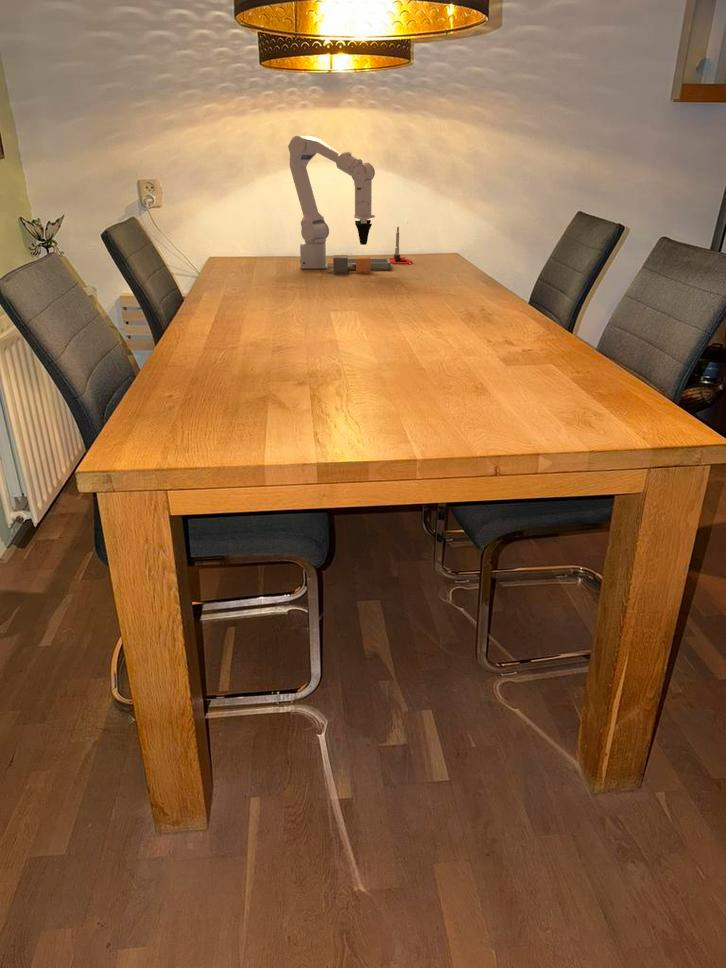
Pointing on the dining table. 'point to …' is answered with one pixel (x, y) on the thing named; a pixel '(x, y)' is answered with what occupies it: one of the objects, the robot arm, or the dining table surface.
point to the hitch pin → (358, 265)
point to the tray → (376, 263)
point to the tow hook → (396, 255)
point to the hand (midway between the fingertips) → (363, 243)
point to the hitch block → (340, 264)
